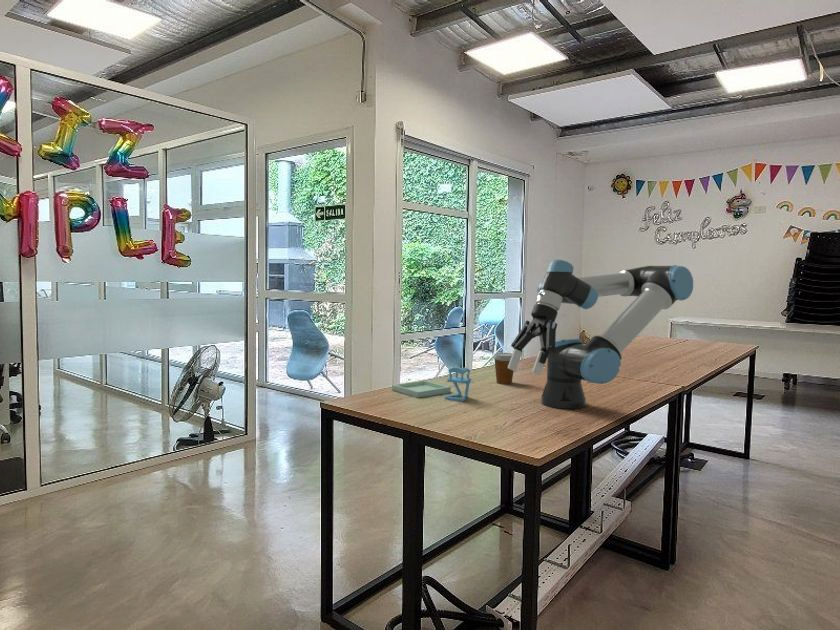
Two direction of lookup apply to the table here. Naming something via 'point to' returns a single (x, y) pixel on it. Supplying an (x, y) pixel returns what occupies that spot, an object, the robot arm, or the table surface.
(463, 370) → the chair
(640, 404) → the table surface
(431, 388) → the tray
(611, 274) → the robot arm
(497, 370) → the disposable coffee cup
